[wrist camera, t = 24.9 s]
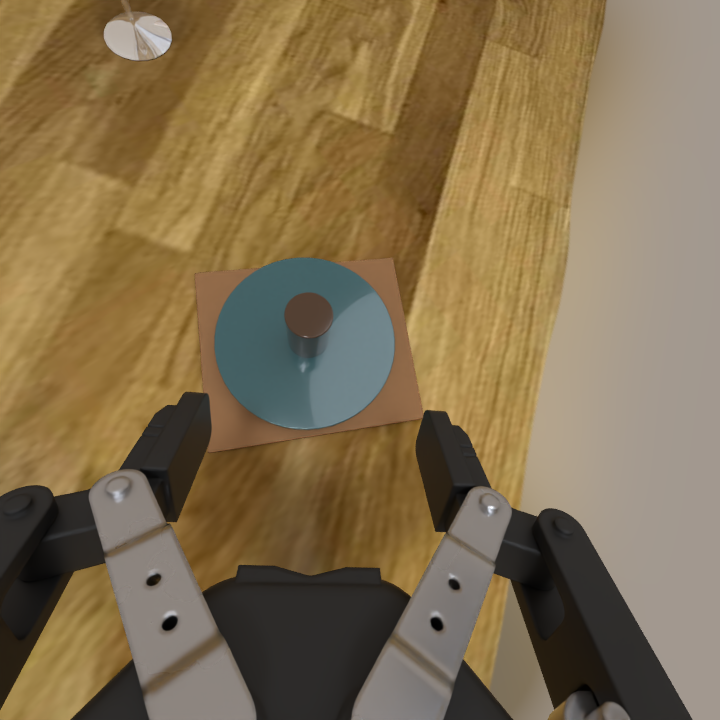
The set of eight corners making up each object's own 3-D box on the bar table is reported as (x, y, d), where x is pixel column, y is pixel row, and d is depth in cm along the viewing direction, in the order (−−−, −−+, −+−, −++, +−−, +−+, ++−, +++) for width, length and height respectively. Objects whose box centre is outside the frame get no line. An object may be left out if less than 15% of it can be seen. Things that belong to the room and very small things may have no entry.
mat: (391, 260, 28) (392, 257, 28) (422, 418, 26) (424, 418, 25) (196, 276, 26) (194, 272, 25) (209, 452, 23) (207, 453, 23)
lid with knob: (376, 259, 27) (394, 212, 22) (405, 416, 25) (433, 407, 19) (211, 272, 25) (186, 223, 20) (225, 444, 23) (201, 443, 17)
